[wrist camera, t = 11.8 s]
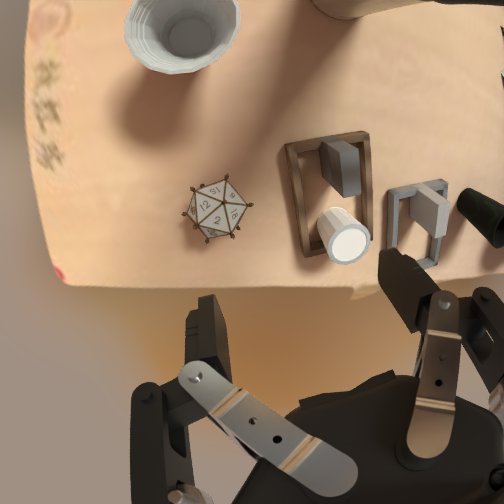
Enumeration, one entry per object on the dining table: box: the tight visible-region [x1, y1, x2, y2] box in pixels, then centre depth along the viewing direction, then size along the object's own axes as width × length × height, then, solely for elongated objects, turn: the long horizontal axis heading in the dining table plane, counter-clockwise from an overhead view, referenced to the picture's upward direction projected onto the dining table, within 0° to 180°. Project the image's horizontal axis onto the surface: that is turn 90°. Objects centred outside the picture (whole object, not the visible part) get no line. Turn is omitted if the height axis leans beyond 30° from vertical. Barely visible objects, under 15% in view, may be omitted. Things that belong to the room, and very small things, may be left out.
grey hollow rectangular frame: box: [387, 179, 450, 269], centre depth 47 cm, size 18×12×8 cm, turn 12°
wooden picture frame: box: [285, 131, 373, 258], centre depth 41 cm, size 18×12×8 cm, turn 12°
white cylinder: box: [317, 207, 370, 265], centre depth 45 cm, size 7×7×7 cm
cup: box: [457, 188, 504, 248], centre depth 44 cm, size 8×8×12 cm
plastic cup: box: [125, 0, 240, 75], centre depth 25 cm, size 11×11×12 cm
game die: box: [181, 173, 254, 244], centre depth 40 cm, size 9×8×10 cm
